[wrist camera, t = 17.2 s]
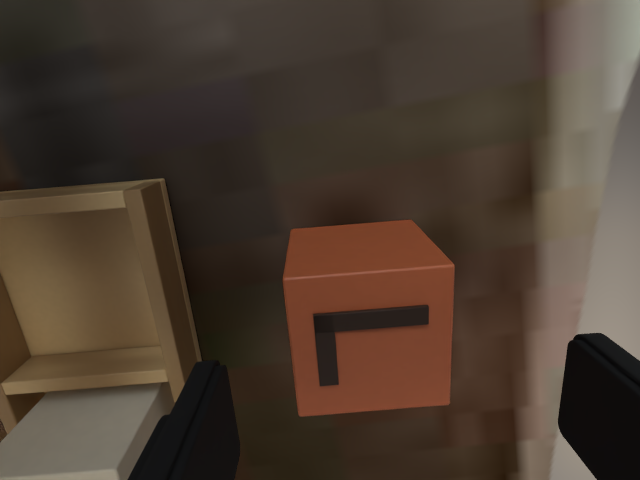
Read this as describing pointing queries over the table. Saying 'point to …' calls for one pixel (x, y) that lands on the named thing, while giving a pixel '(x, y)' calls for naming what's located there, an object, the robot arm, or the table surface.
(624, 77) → the table surface
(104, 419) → the ivory block
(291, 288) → the terracotta block
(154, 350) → the wooden tray
